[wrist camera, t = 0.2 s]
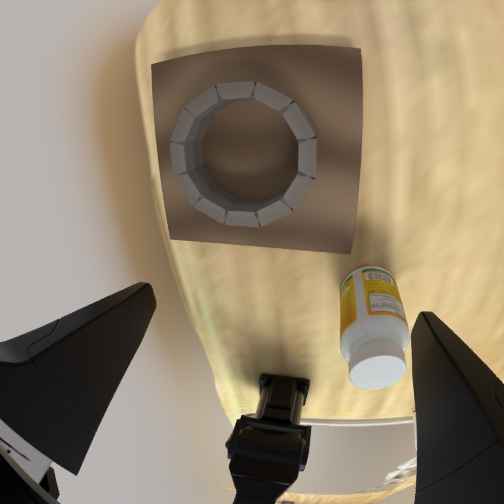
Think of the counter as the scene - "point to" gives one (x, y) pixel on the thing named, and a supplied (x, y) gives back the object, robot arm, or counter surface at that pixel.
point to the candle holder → (287, 502)
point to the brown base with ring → (261, 145)
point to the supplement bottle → (373, 328)
